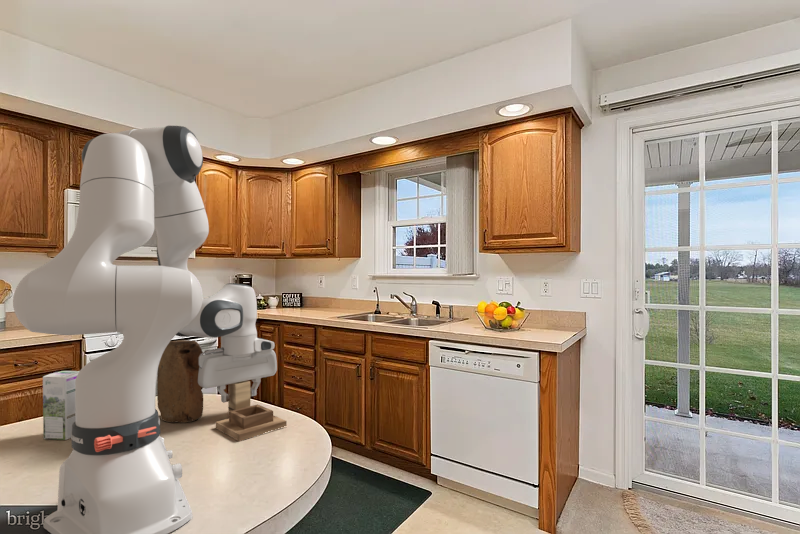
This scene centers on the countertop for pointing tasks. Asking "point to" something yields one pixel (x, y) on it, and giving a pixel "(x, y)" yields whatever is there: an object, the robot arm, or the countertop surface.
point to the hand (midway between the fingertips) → (239, 398)
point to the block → (180, 382)
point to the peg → (239, 395)
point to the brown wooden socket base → (250, 422)
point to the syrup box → (59, 404)
